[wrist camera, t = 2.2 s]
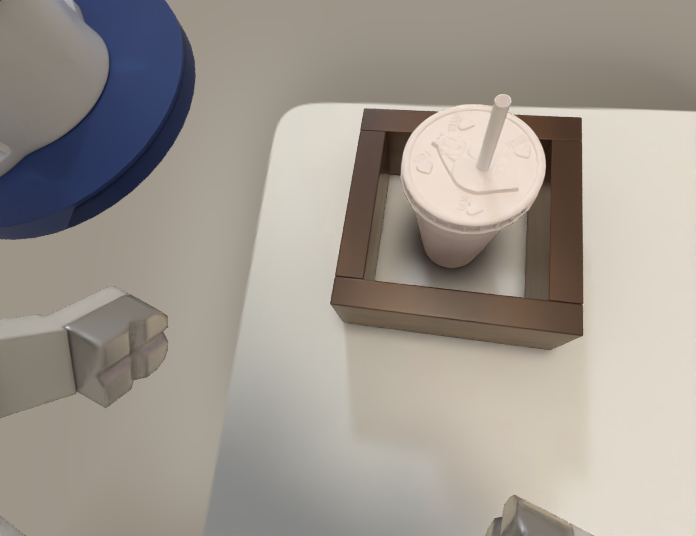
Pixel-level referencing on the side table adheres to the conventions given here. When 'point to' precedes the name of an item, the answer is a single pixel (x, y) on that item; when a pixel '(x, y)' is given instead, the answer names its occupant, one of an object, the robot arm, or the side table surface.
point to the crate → (462, 306)
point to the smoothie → (470, 177)
